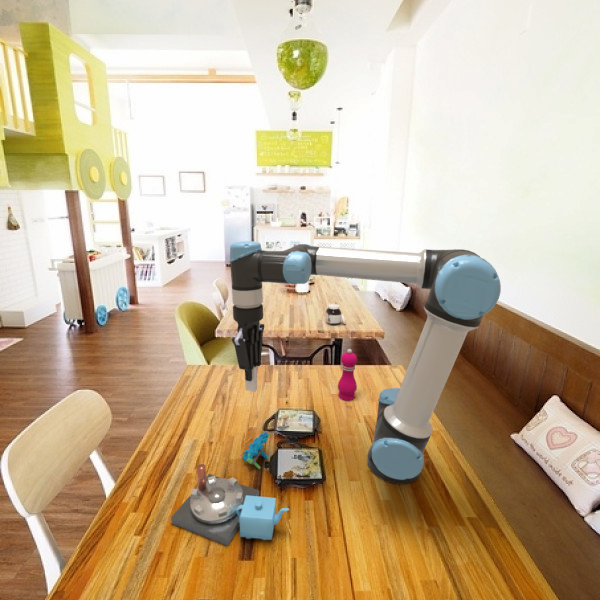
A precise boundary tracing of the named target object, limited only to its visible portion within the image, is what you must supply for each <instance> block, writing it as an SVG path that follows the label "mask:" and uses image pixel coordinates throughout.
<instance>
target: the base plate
mask: <svg viewBox="0 0 600 600" xmlns="http://www.w3.org/2000/svg"><path fill="white" fill-rule="evenodd" d="M212 476H215V477H216V479H217V478H221V477H220V476H216V475H214V474H210V473H209V474H207V475H206V481H208V477H212ZM238 484H239V485H240V487H241V488H242V491H243V503H242V505H243V504H244V501H245V497H246V495H248V496H259V497H260V490H259V489H256V488H253V487H250V486H248V485H244V484H241V483H238ZM190 499H191V494H190V495H189V496H188V497H187V499H185V501H183V503H182V504H181V505H180V506H179V507H178V508H177V510H176V511H175V512H174V513H173V514H172V516H171V517H170V518H171V524H172V525H173V526H176V527H179V528H180V529H183V530H186V531H189V532H192V533H194V534H197V535H198V536H201V537H203V538H206V539H208V540H211V541H214V542H216V543H218V544H221V545H224V546H225V547H228V546H229V544H230V543H231V542H232V540H233V538H234V537H235V536H236V534H237V532H238V531H239V530H240V528H239V527H240V523H239V518H240V517H239V516H238V515H237V514H236V515H235V516H233V517H232V518H230V519H229V520H227V521H224V522H221V523H216V524H208V523H203V522H201V521H199V520H197V519H196V518H195V517H194V516H193V514H192V512H191V507H190ZM239 511H240V513H241V512H242V509H240V510H239Z"/></svg>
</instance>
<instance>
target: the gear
mask: <svg viewBox="0 0 600 600" xmlns="http://www.w3.org/2000/svg"><path fill="white" fill-rule="evenodd" d="M269 436H270V433H268V432H266V431H264V432H263V433H260V434H259V435H258V437H256V438H254V439H253V442H251V443H250V444H249V445H248V446H247V447H248V449H246V450H244V452H243V453H244V454H243V455H242V457H241V458H242V460H243V461H244V462H248V464H249V465H251V466H252V465H254V466H255V467H256V468H257V470H260V469H261V465H259V464H258V463H257V462H256V461H257V460H258V458H259V456H260V455H261V456H262V457H263V458H264V459H265V460H268V459H269V455H268V454H267V453H266V452H265V451H264V450H263V449H264V444H266V443H267V442H268V439H269Z"/></svg>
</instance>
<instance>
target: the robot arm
mask: <svg viewBox="0 0 600 600" xmlns="http://www.w3.org/2000/svg"><path fill="white" fill-rule="evenodd" d="M229 265H230V279H231V280H230V281H231V295H232V296H231V297H232V298H231V299H232V304H233V306H232V316H233V321H235V322H236V323H237V329H236V332H237V335H236V336H235V337H232V339H231V342H232V344H233V346H234V349H235V354H236V359H237V364H238V368H239V369H240V370H244V380H245V391H248V392H253V393H255V392H256V391H257V390H258V371H257V369H258V368H257V367H261V364H262V363H261V362H260V361H261V359H262V351H263V338H264V337H263V335H264V331H265V330H264V329H265V324H264V323H260V322H261V321H262V320H263V319H264V305H263V304H262V303H264V296H263V295H264V294H263V293H264V292H263V283H273V284H288V285H289V284H290V285H305V284H307V283H308V282H309V280H310V277H311V276H323V277H326V276H327V277H334V278H337V277H338V278H347V279H359V280H360V279H361V280H370V281H380V282H391V283H402V284H403V283H404V284H413V285H414V284H415V285H417V287H418V288H419V289H422V290H423V289H425V290H429V293H428V295H427V297H426V300H425V302H424V306H423V309H424V311H425V313H426V315H427V318H426V321H425V322H424V325H423V329H422V331H421V333H420V336H419V338H418V342H417V344H416V346H415V348H414V352H413V354H412V356H411V359H410V362H409V363H408V364H409V365H408V367H407V370H406V371H405V374H404V377H403V379H402V383H401V385H400V388H399V387H389V388H384V389H382V390H381V391H380V392H379V397H378V400H377V401H378V405H377V408H378V409H377V414H376V415H377V416H376V421H375V422H376V423H375V429H374V433H373V440H372V442H371V446H370V447H369V449H368V452H367V461H366V462H367V466H368V468H369V470H370V472H372V473H373V474H374V475H375V476H376V477H378V478H379V479H381V480H383V481H386V482H389V483H391V484H397V485H403V484H404V485H406V484H411V483H413V482H415V481H417V479H419V478H420V476H421V472H422V470H423V468H424V465H425V457H424V453H425V450H426V447H427V445H428V442H429V440H430V438H431V436H432V434H433V426H432V424H431V422H430V420H431V418H432V415H433V412H435V409H436V406H437V405H438V402H439V399H440V398H441V395H442V393H443V391H444V388H445V386H446V383H447V381H448V379H449V376H450V374H451V372H452V369H453V367H454V365H455V362H456V360H457V358H458V356H459V355H460V354H459V353H460V351H461V349H462V346H463V344H464V342H465V339H466V337H467V335H468V332H470V331H473V330H476V329H479V327H480V325H481V322H482V320H483V319H484V316H485V315H486V314H488V313H489V312H491V310H493V309H494V307H495V306H496V305H497V303H498V301H499V299H500V297H501V296H500V295H501V290H502V289H501V287H502V286H501V281H500V278H499V275H498V272H497V270H496V269H495V267H494V266H493V265H492V264H491V263H490V262H489V261H488V260H487V259H485V258H482V257H481V256H480V255H479V254H477V253H475V252H473V251H471V250H468V249H464V248H463V249H456V248H455V249H427V248H426V249H425V248H424V249H423V250H422V251H420V252H406V251H390V250H375V249H374V250H373V249H363V248H361V249H359V248H342V247H329V246H328V247H327V246H317V245H316V246H314V245H313V246H312V245H310V244H307V243H300V244H297V245H294V246H293V247H290V248H287V249H284V250H274V251H273V250H264V249H262V244H261V243H260V242H259V241H253V240H249V241H248V240H245V241H243V240H242V241H235V242H232V243H231V244H230V246H229Z"/></svg>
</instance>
